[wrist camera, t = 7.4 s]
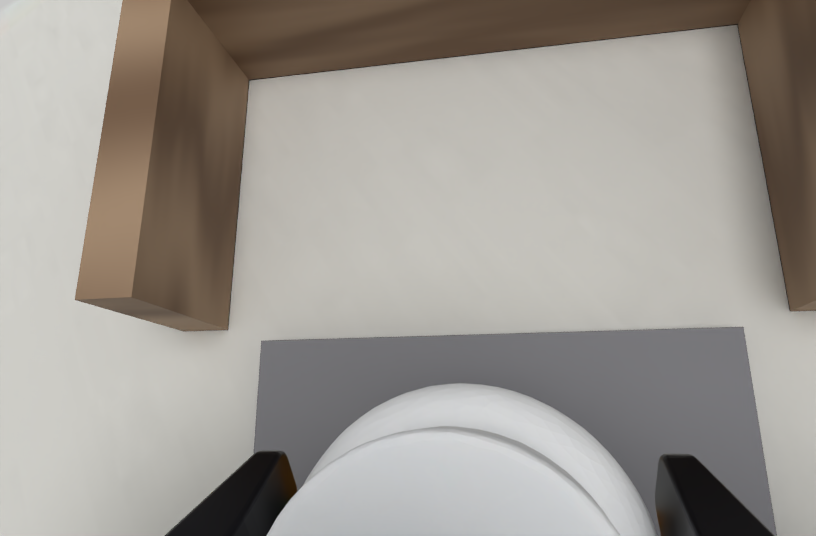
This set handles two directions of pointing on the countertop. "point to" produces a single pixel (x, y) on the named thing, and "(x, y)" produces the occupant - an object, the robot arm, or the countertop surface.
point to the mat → (538, 394)
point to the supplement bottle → (465, 473)
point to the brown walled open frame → (359, 47)
